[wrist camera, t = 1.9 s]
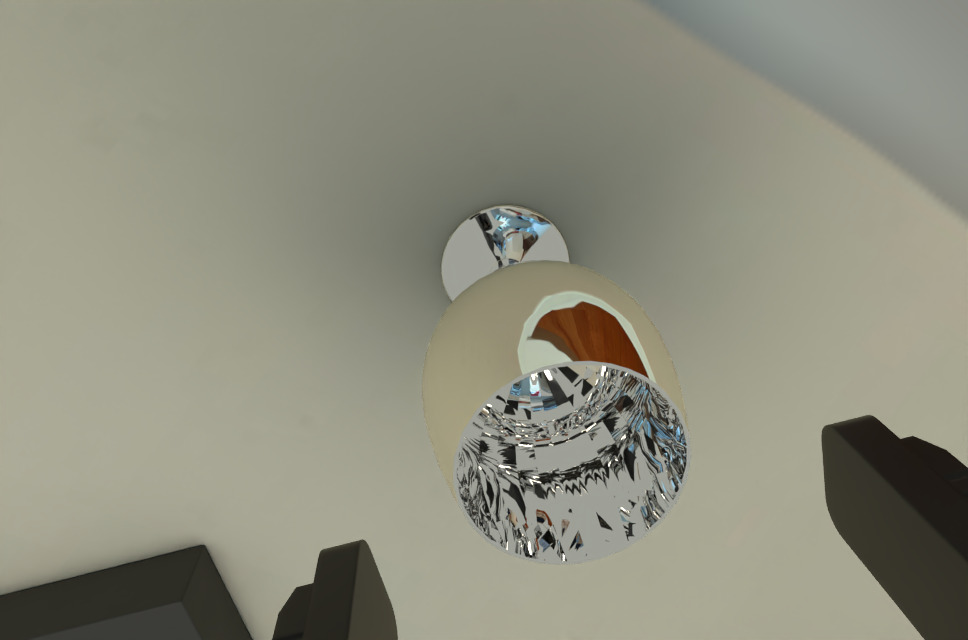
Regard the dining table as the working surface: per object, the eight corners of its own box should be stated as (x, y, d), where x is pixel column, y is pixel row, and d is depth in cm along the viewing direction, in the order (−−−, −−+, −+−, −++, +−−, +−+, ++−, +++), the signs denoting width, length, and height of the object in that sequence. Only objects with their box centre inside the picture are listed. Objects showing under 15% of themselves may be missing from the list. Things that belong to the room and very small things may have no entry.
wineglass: (621, 265, 25) (778, 460, 14) (504, 373, 26) (563, 629, 15) (507, 148, 23) (585, 267, 12) (386, 271, 25) (358, 478, 14)
